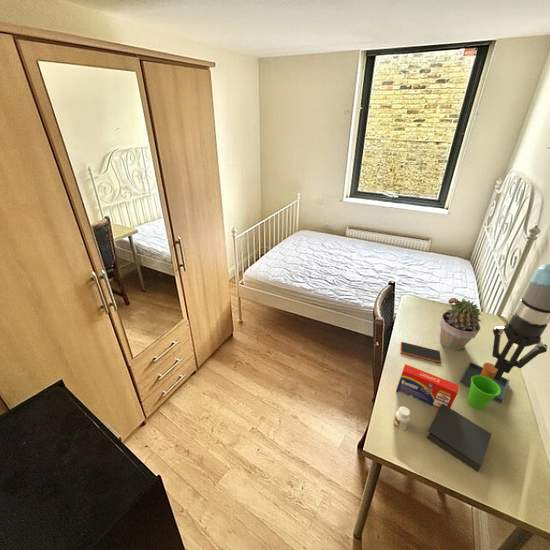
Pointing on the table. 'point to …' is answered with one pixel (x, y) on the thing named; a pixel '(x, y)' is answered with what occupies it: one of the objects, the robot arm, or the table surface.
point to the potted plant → (459, 324)
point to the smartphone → (420, 352)
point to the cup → (482, 391)
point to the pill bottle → (402, 418)
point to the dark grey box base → (453, 451)
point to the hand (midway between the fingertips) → (497, 376)
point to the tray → (476, 370)
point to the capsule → (488, 370)
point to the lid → (460, 434)
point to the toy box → (427, 387)
